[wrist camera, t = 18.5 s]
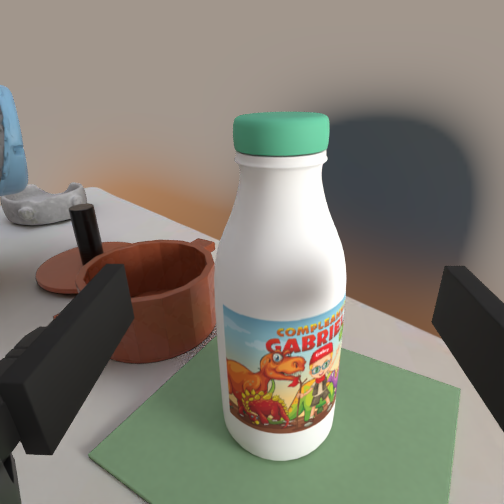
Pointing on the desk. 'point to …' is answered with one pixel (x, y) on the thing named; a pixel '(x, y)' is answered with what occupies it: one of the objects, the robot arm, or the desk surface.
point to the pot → (162, 296)
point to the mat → (297, 470)
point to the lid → (75, 252)
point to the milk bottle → (279, 289)
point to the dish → (41, 204)
